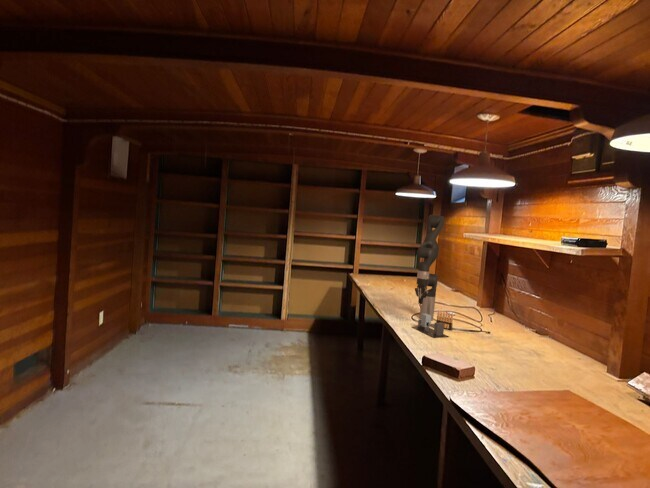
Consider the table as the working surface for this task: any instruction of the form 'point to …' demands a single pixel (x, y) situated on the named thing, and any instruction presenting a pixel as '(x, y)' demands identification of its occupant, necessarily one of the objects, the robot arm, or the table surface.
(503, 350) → the table surface
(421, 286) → the robot arm
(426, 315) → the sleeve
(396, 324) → the table surface
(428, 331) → the dark grey mounting base
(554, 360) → the table surface
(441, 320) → the ammunition clip
